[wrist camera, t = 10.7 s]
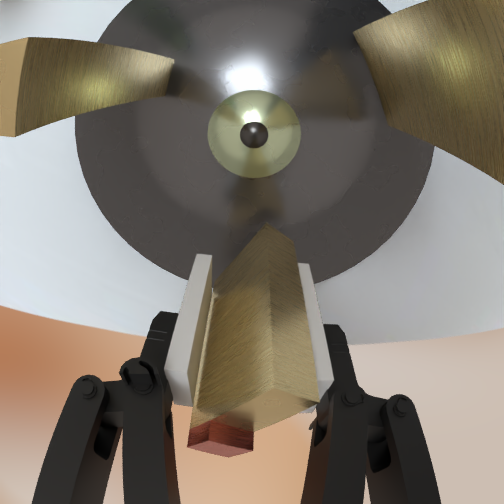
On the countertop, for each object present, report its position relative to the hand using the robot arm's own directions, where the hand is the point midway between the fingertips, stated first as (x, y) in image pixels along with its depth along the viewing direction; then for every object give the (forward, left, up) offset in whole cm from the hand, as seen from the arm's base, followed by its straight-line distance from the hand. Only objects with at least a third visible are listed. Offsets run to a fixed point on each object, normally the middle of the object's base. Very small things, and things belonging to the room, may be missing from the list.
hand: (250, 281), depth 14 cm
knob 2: (0, 0, -2) cm, 2 cm away
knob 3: (-10, -7, -2) cm, 12 cm away
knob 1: (+1, -12, -2) cm, 12 cm away
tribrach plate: (-3, -6, -4) cm, 8 cm away
